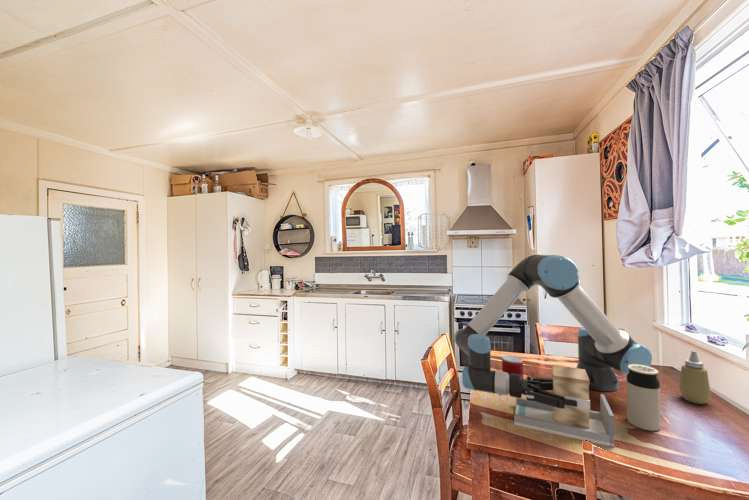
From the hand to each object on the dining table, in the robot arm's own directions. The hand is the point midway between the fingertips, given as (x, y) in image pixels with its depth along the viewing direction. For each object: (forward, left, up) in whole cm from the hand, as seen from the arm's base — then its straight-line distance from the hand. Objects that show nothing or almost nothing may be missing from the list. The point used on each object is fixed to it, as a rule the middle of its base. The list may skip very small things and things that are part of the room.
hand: (587, 397), depth 96 cm
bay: (+7, -3, -10) cm, 13 cm away
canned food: (+13, -31, -10) cm, 35 cm away
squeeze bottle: (-48, -23, -10) cm, 54 cm away
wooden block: (+4, -1, -9) cm, 10 cm away
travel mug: (-19, -5, -10) cm, 22 cm away
